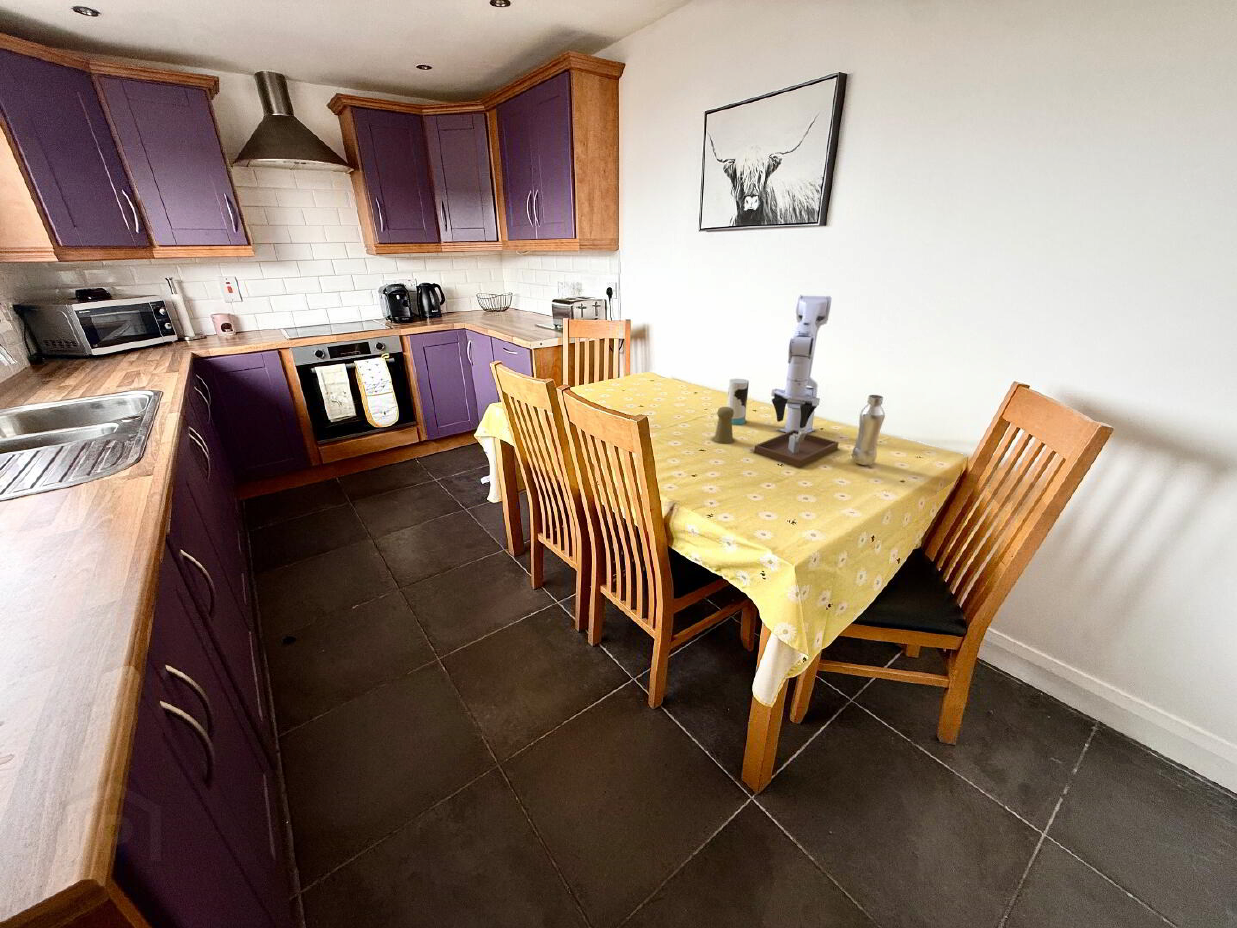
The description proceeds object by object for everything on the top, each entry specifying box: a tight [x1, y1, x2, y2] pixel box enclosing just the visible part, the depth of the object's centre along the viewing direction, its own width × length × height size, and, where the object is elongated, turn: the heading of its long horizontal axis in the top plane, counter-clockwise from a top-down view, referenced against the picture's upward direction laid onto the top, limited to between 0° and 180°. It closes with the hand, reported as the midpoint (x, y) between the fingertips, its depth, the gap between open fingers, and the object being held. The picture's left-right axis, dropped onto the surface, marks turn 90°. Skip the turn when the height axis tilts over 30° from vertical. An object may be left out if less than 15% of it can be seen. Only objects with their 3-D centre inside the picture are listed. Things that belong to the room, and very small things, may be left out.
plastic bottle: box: [851, 394, 886, 466], centre depth 141 cm, size 6×7×20 cm
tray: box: [753, 430, 839, 469], centre depth 154 cm, size 22×16×2 cm
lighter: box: [788, 430, 806, 453], centre depth 151 cm, size 7×2×8 cm, turn 6°
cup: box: [726, 378, 750, 426], centre depth 178 cm, size 7×7×15 cm
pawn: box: [713, 406, 734, 444], centre depth 162 cm, size 6×6×11 cm
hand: (791, 424), depth 149 cm, fingers open, 7 cm apart
